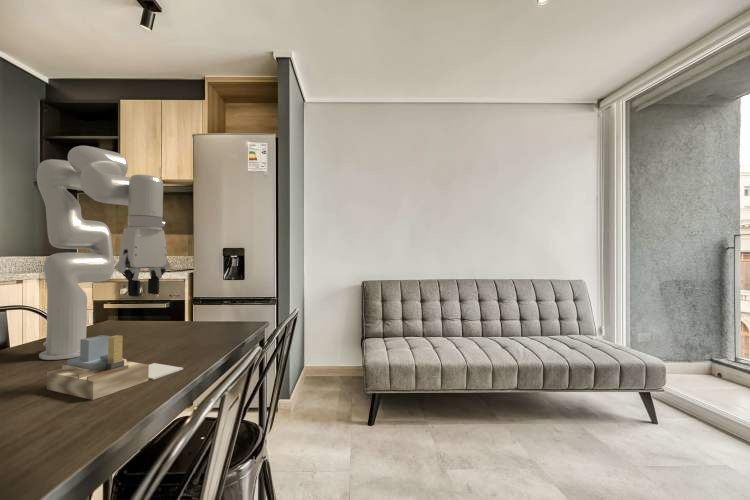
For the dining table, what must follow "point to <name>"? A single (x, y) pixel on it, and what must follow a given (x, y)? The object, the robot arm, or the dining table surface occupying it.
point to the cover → (91, 353)
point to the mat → (161, 370)
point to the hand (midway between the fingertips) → (143, 294)
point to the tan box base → (96, 379)
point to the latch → (114, 353)
